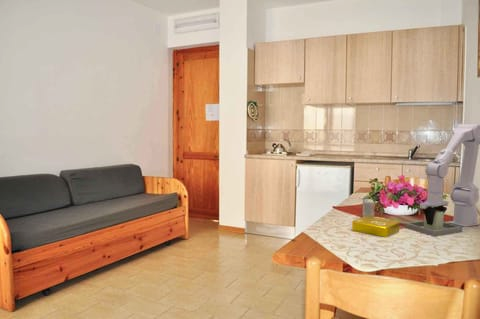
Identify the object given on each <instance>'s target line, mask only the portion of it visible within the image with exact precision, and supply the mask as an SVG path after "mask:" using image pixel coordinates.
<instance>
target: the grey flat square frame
mask: <svg viewBox="0 0 480 319" xmlns="http://www.w3.org/2000/svg"><path fill="white" fill-rule="evenodd" d="M463 227H464V226H460V225H456V224H452V223H449V222H447V221H443V229H440V230H434V231H433V230H430V229H426V228H424V221H416V222H409V223H405V226H404V228H405V229H407V230H411V231H415V232H418V233H420V234H424V235H427V236H431V237H438V236H444V235H451V234H456V233H463V230H464V229H463Z"/></svg>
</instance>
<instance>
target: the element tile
mask: <svg viewBox="0 0 480 319" xmlns="http://www.w3.org/2000/svg"><path fill="white" fill-rule="evenodd" d="M351 226H352V229H351V230H352V231H353V232H356V233H361V234H366V235H370V236H375V237H379V238H380V237H381V238H388V237H389V238H390V237H391V236H393V235H394V234H396V233H398V232H400V226H401V225H400V222H399V221H396V220H390V219H385V218H384V217H378V216H374V217H373V216H364V217H360V218H357V219H353V221H352V225H351Z"/></svg>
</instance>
